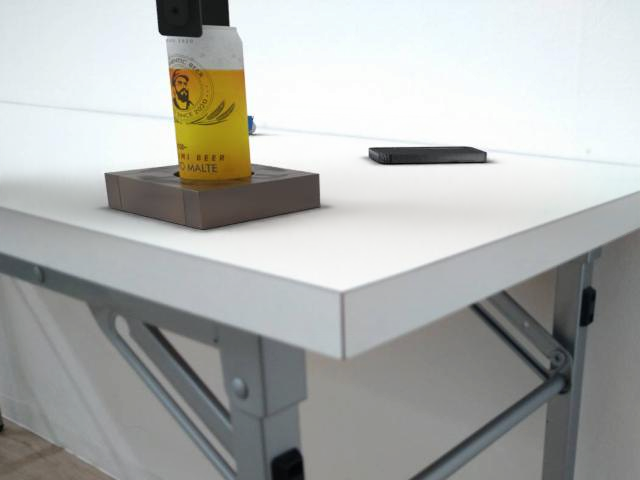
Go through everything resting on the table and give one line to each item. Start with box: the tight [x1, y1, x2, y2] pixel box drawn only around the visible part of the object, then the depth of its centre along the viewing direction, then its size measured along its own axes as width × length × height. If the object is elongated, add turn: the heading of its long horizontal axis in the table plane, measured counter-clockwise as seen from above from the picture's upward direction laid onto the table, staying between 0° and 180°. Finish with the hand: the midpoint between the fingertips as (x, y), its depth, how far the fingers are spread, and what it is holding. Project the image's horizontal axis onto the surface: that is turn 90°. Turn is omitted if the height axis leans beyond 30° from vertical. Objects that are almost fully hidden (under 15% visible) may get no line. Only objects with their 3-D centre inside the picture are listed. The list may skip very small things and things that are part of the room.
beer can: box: [165, 25, 252, 180], centre depth 64 cm, size 6×6×15 cm
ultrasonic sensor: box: [247, 115, 257, 135], centre depth 123 cm, size 6×2×3 cm, turn 83°
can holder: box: [104, 163, 321, 230], centre depth 66 cm, size 13×13×3 cm
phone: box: [368, 145, 488, 164], centre depth 100 cm, size 8×1×15 cm
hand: (197, 37), depth 61 cm, fingers open, 9 cm apart
